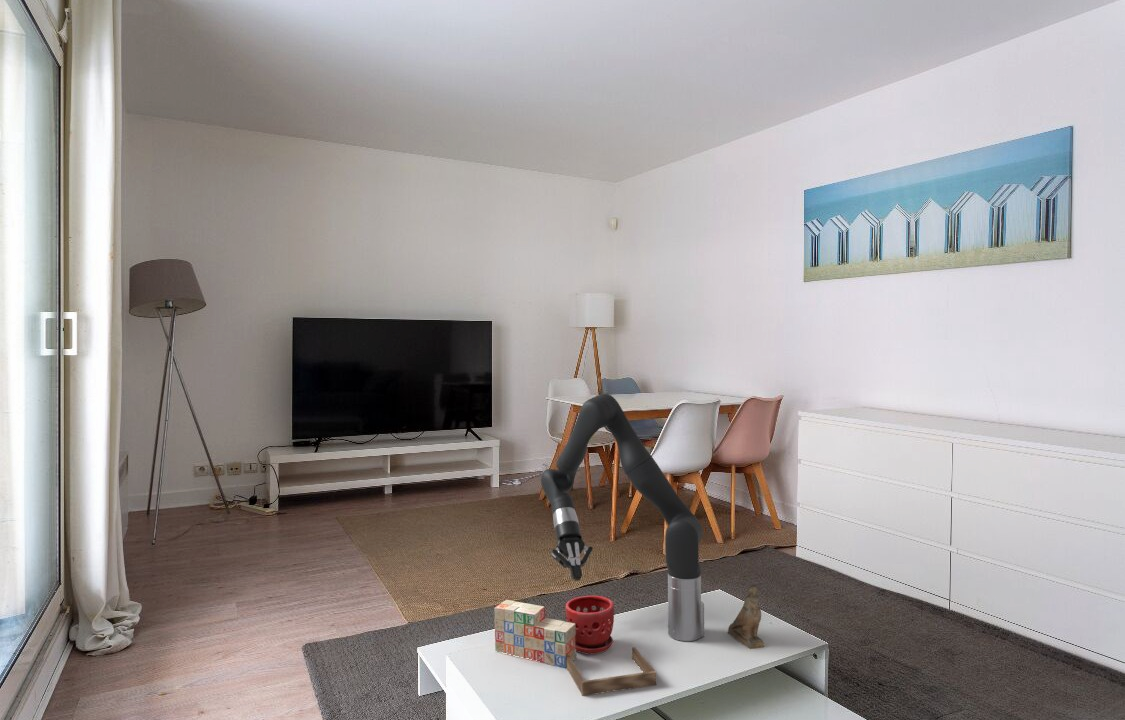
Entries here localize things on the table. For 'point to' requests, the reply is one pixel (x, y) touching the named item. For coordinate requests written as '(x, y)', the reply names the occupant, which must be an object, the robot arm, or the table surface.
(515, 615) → the stack of blocks
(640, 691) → the table surface
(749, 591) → the brown carved statuette
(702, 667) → the table surface
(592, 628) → the plant pot
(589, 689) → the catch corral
